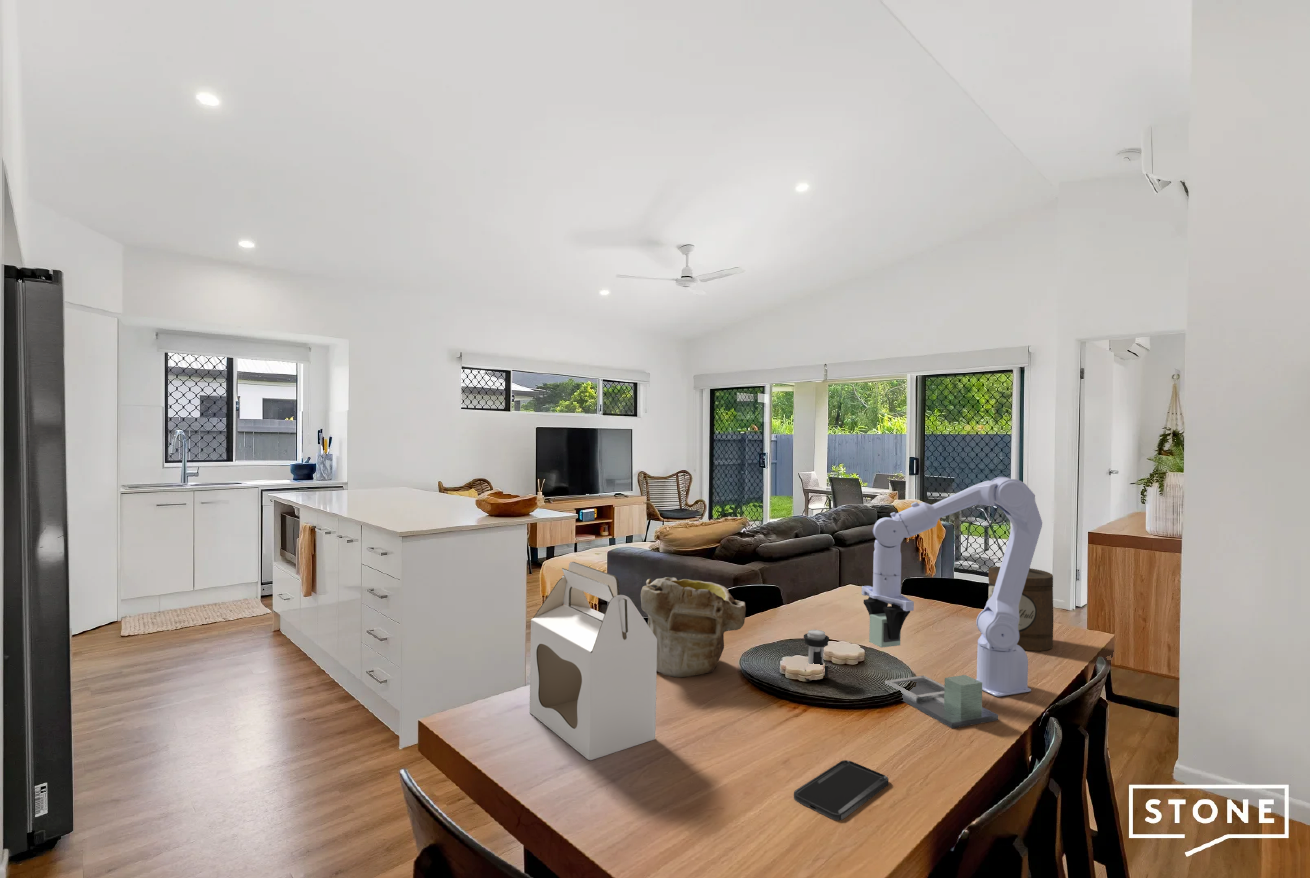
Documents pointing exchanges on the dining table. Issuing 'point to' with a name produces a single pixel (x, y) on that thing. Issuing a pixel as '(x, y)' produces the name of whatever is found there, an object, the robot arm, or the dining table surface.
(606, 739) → the gable box
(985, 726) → the dining table surface
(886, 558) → the robot arm
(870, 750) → the dining table surface
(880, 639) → the block
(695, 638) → the ceramic vessel
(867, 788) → the phone
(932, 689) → the rail
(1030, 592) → the wooden container
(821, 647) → the push button
